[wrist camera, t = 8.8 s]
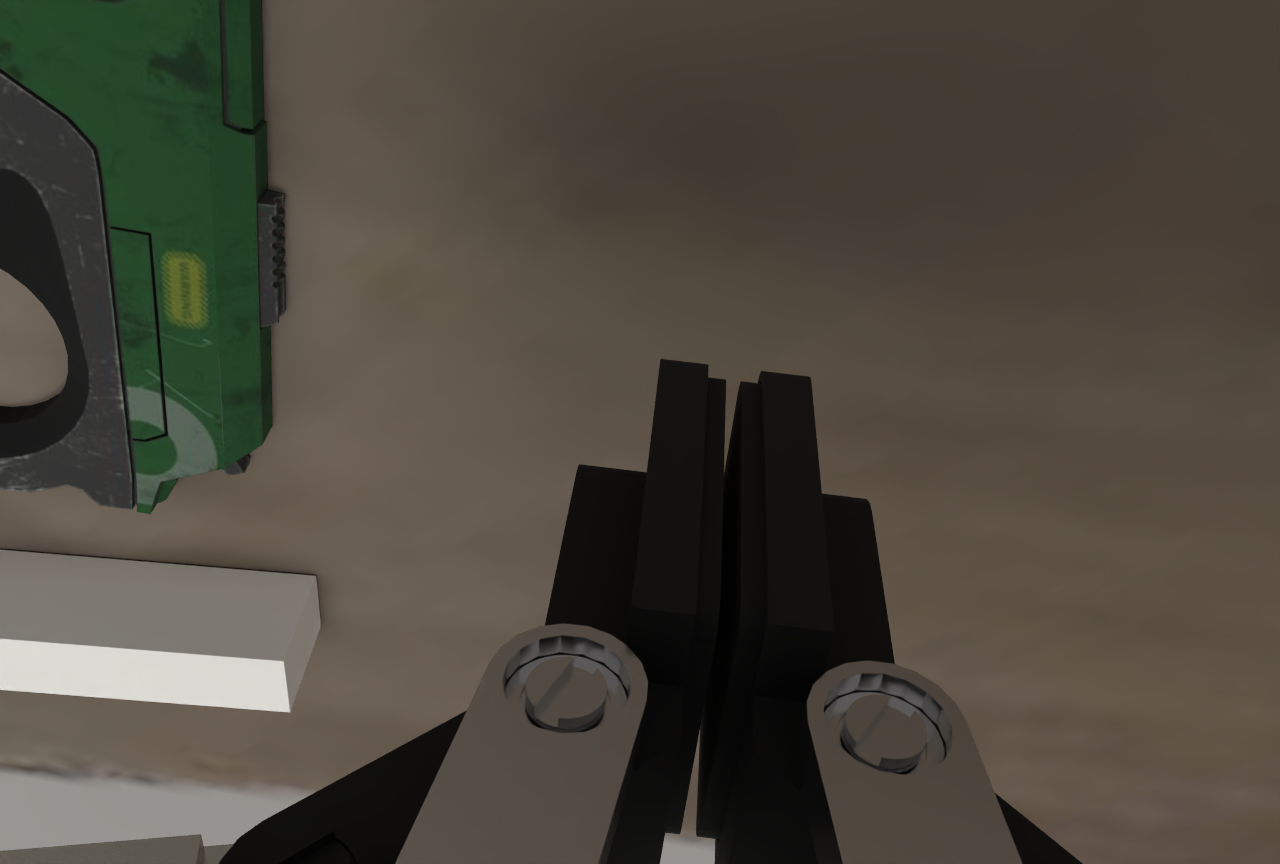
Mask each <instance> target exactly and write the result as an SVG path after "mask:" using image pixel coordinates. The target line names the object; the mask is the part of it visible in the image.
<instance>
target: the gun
mask: <svg viewBox="0 0 1280 864" xmlns="http://www.w3.org/2000/svg"><path fill="white" fill-rule="evenodd" d="M263 117H264V96H263V46H262V0H0V269H2V270H4V271H6V272H7V273H9V274H10V275H11V276H13V277H14V278H15V279H17V280H18V281H19V282H21V283H22V284H23V285H24V286H26V287H27V288H28V289H29V290H30V291H31V292H32V293H33V294H34V295H35V296H36V297H37V298H38V299H39V300H40V301H41V302H42V303H43V305H44V306H45V308H46V309H47V310H48V312H49V313H50V315H51V316H52V317H53V319H54V320H55V322H56V324H57V326H58V328H59V330H60V332H61V334H62V337H63V339H64V343H65V346H66V350H67V354H68V376H67V380H66V384H65V387H64V389H63V391H62V392H61V393H60V394H58V395H57V396H55V397H53V398H51V399H49V400H48V401H45V402H41V403H38V404H35V405H31V406H21V407H4V406H0V490H8V491H23V492H36V491H41V490H47V489H52V488H57V487H63V486H71V487H74V488H78V489H81V490H84V492H85V493H86V494H87V496H88V497H90V498H91V499H92V500H93V501H95V502H96V503H97V504H99V505H100V506H108V507H115V508H122V509H130V510H132V509H133V508H134V506H135V504H137V512H141V513H147V514H151V512H152V511H153V509H154V507H155V506H156V504H157V503H159V502H161V501H164V500H166V499H167V497H168V496H169V494H170V492H171V491H172V489H173V487H174V486H175V484H176V482H177V480H178V478H181V477H186V476H191V475H196V474H201V473H206V472H211V471H215V470H221V471H222V472H224V473H226V474H227V475H234V474H240V473H244V472H245V470H246V468H247V466H248V465H249V463H250V459H249V457H248V455H247V454H248V453H250V452H251V451H253V450H254V449H256V448H258V447H259V446H261V445H262V444H263V442H264V441H265V439H266V437H267V435H268V433H269V431H270V429H271V427H272V379H271V326H272V325H278V323H279V317H280V316H282V315H283V314H284V313H285V276H284V275H283V274H282V273H281V272H283V271H284V269H285V264H284V263H283V262H282V261H281V259H283V258H284V256H285V252H284V250H282V248H281V246H283V245H284V238H283V237H282V235H281V233H283V232H284V224H282V222H281V220H283V218H284V211H282V209H281V207H280V206H283V205H284V194H280V193H276V192H271V191H268V165H267V121H264V120H262V119H263Z"/></svg>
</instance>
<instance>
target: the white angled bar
mask: <svg viewBox="0 0 1280 864" xmlns="http://www.w3.org/2000/svg"><path fill="white" fill-rule="evenodd" d="M320 627H321V620H320V610H319V600H318V589H317V579H316V576H312V575H300V574H288V573H276V572H264V571H252V570H240V569H228V568H216V567H203V566H191V565H179V564H167V563H155V562H143V561H131V560H119V559H107V558H95V557H83V556H70V555H58V554H46V553H34V552H22V551H10V550H0V690H11V691H24V692H37V693H50V694H63V695H75V696H88V697H101V698H114V699H126V700H139V701H152V702H165V703H177V704H190V705H203V706H216V707H229V708H241V709H254V710H267V711H280V712H290V711H291V709H292V706H293V703H294V700H295V697H296V695H297V692H298V689H299V686H300V683H301V681H302V678H303V675H304V672H305V669H306V666H307V664H308V661H309V658H310V655H311V652H312V650H313V647H314V644H315V641H316V638H317V635H318V633H319V630H320Z"/></svg>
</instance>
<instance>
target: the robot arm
mask: <svg viewBox="0 0 1280 864" xmlns="http://www.w3.org/2000/svg"><path fill="white" fill-rule="evenodd" d="M725 403H726V380H725V379H716V378H708V365H707V364H699V363H691V362H682V361H674V360H666V359H661V360H660V368H659V376H658V385H657V393H656V401H655V409H654V418H653V426H652V434H651V442H650V451H649V459H648V467H647V473H646V472H638V471H630V470H622V469H613V468H605V467H597V466H588V465H580V464H579V466H578V469H577V473H576V477H575V482H574V487H573V492H572V497H571V501H570V506H569V511H568V516H567V521H566V526H565V530H564V535H563V540H562V545H561V550H560V555H559V560H558V564H557V569H556V574H555V579H554V584H553V589H552V594H551V598H550V603H549V608H548V613H547V618H546V623H545V626H539V627H537V628H534V629H531V630H528V631H526V632H523V633H520V634H518V635H517V636H515V637H514V638H512V639H511V640H510V641H508V642H507V643H505V644H504V645H503V646H501V647H500V649H499V650H498V652H497V653H496V654H495V656H494V657H493V658H492V660H491V661H490V663H489V664H488V667H487V669H486V671H485V673H484V675H483V677H482V679H481V682H480V684H479V686H478V688H477V690H476V692H475V694H474V696H473V699H472V701H471V703H470V705H469V707H468V709H467V711H465V712H463V713H461V714H459V715H458V716H456V717H454V718H452V719H450V720H448V721H446V722H445V723H443V724H441V725H439V726H437V727H435V728H434V729H432V730H430V731H428V732H426V733H424V734H422V735H421V736H419V737H417V738H415V739H413V740H411V741H410V742H408V743H406V744H404V745H402V746H400V747H398V748H397V749H395V750H393V751H391V752H389V753H387V754H386V755H384V756H382V757H380V758H378V759H376V760H374V761H373V762H371V763H369V764H367V765H365V766H363V767H362V768H360V769H358V770H356V771H354V772H352V773H350V774H349V775H347V776H345V777H343V778H341V779H339V780H338V781H336V782H334V783H332V784H330V785H328V786H326V787H325V788H323V789H321V790H319V791H317V792H315V793H314V794H312V795H310V796H308V797H306V798H304V799H302V800H301V801H299V802H297V803H295V804H293V805H291V806H290V807H288V808H286V809H284V810H282V811H280V812H278V813H277V814H275V815H273V816H271V817H269V818H267V819H266V820H264V821H262V822H261V823H259V824H258V825H257V826H255V827H254V828H252V829H251V830H249V831H248V832H247V833H245V834H244V835H242V836H241V837H240V838H239V839H238V840H237V841H236V842H235V843H234V844H229V845H217V846H205V847H204V846H203V841H202V837H201V835H188V836H176V837H164V838H152V839H140V840H128V841H116V842H104V843H92V844H79V845H67V846H56V847H44V848H32V849H19V850H8V851H0V864H660V859H661V853H662V847H663V841H664V836H665V833H673V834H680V832H681V827H682V822H683V817H684V811H685V806H686V800H687V795H688V790H689V784H690V779H691V773H692V768H693V763H694V757H695V752H696V746H697V741H698V735H699V730H700V747H699V772H698V796H697V820H696V835H697V837H705V838H713V839H715V864H1082V863H1081V862H1080V861H1079V860H1077V859H1076V858H1075V857H1074V856H1072V855H1071V854H1070V853H1069V852H1067V851H1066V850H1065V849H1064V848H1063V847H1061V846H1060V845H1059V844H1058V843H1056V842H1055V841H1054V840H1053V839H1051V838H1050V837H1049V836H1048V835H1046V834H1045V833H1044V832H1043V831H1041V830H1040V829H1039V828H1038V827H1036V826H1035V825H1034V824H1033V823H1032V822H1030V821H1029V820H1028V819H1027V818H1025V817H1024V816H1023V815H1022V814H1020V813H1019V812H1018V811H1017V810H1015V809H1014V808H1013V807H1012V806H1010V805H1009V804H1008V803H1007V802H1006V801H1004V800H1003V799H1002V798H1001V797H999V796H998V795H997V794H996V793H994V790H993V788H992V785H991V782H990V780H989V777H988V775H987V772H986V770H985V767H984V765H983V762H982V760H981V757H980V754H979V752H978V749H977V747H976V744H975V742H974V739H973V737H972V734H971V732H970V729H969V726H968V724H967V722H966V720H965V718H964V716H963V715H962V713H961V711H960V710H959V708H958V706H957V704H956V703H955V702H954V701H953V700H952V699H951V698H950V697H949V696H948V695H947V694H946V693H945V692H944V691H943V690H942V689H941V688H940V687H939V686H938V685H937V684H935V683H933V682H932V681H930V680H928V679H927V678H925V677H924V676H922V675H920V674H919V673H917V672H915V671H912V670H909V669H906V668H903V667H901V666H898V665H895V663H894V656H893V649H892V643H891V636H890V629H889V623H888V616H887V609H886V603H885V596H884V589H883V583H882V576H881V569H880V563H879V556H878V549H877V543H876V536H875V529H874V523H873V516H872V510H871V506H870V503H869V501H868V500H867V499H862V498H853V497H845V496H837V495H829V494H822V492H821V481H820V470H819V460H818V449H817V438H816V427H815V417H814V406H813V395H812V384H811V378H810V377H807V376H799V375H791V374H782V373H774V372H766V371H761V373H760V376H759V379H758V383H750V382H741V383H740V386H739V391H738V396H737V402H736V408H735V414H734V420H733V425H732V431H731V437H730V443H729V449H728V455H727V461H726V466H725V472H724V443H725Z"/></svg>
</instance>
